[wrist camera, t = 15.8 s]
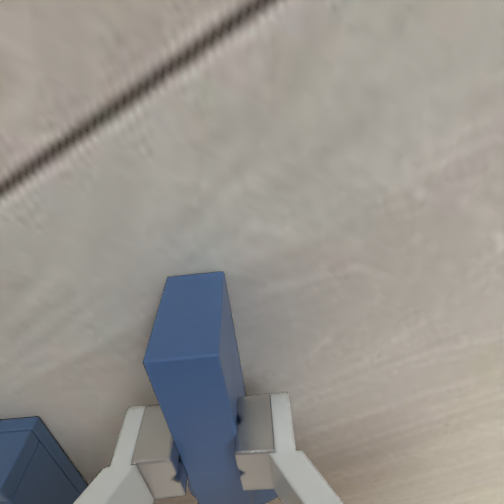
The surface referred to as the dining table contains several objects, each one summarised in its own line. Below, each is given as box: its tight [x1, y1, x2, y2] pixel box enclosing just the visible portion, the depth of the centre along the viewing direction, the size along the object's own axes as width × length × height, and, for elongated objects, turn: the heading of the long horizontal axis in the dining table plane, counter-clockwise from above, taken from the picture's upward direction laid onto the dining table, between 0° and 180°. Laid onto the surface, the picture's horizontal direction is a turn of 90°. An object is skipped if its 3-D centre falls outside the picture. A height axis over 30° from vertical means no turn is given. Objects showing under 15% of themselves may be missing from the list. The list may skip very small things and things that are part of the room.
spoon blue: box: [143, 271, 278, 504], centre depth 11 cm, size 11×4×3 cm, turn 6°
